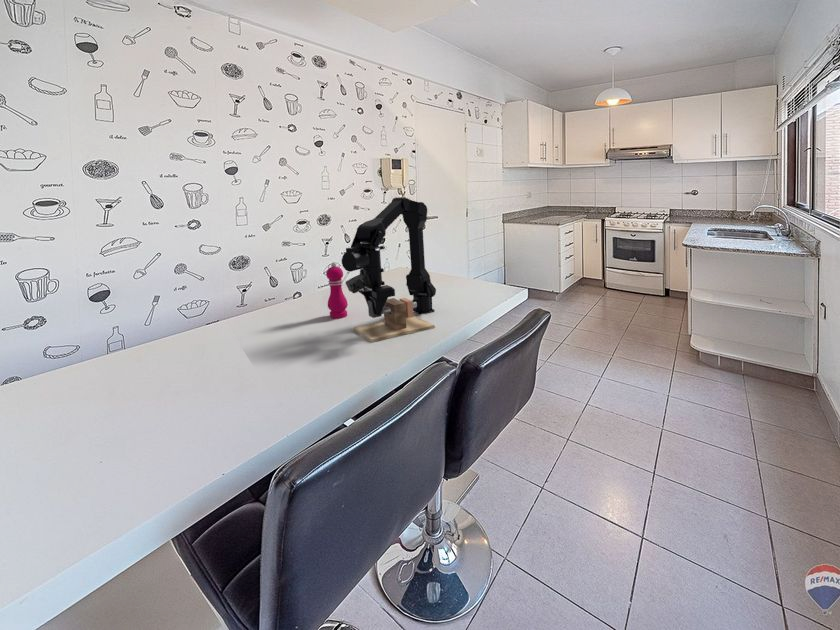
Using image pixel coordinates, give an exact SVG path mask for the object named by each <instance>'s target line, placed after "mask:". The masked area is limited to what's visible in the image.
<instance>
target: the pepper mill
mask: <svg viewBox="0 0 840 630" xmlns="http://www.w3.org/2000/svg"><path fill="white" fill-rule="evenodd" d="M325 275H326V277H327V279H328V285H329V288H330V292H329V296H328V297H329V298H328V299H327V308H328V310H330V311H329V317H330V319H331V318H332V319H343V317H344V318H346V317H347V316H348V311H347V310H346V309H347V308H348V305H349V304H348V300H347V298H346V296H345V294H344V291H343V287H342V285H343V283H344V282H343V279H342V278H343V277H344V271H343V269H342V268H341V267H339V266H337V263H336V262H332V263H331V266H330V267H329V268H328V269H327V270H326V274H325Z"/></svg>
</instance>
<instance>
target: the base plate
mask: <svg viewBox="0 0 840 630" xmlns="http://www.w3.org/2000/svg"><path fill="white" fill-rule="evenodd" d="M431 328H432V329H435V328H436V325H435V324H434V323H431V322H430V321H427V320H425V319H422V318H421V317H418V316H416V315H414V314H413V317H410V318H407V317H406V328H404V329H399V330H394V329H392V328H391V327H389V326H387V325H385V323H384V321H383V320H382V321H378V322H374V323H368V324H364V325H360V326H359V325H358V326H355V327H353V331H354V332H356V333H357V334H358V335H360V336H362V337H363V338H364V339H366V340H367V341H369V342H370V343H374V342H379V341H384V340H387V339H392V338H393V339H394V338H395V337H400V336H406V335H409V334H414V333H418V332H423V331H427V329H428V330H430V329H431ZM432 329H431V330H432Z"/></svg>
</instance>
